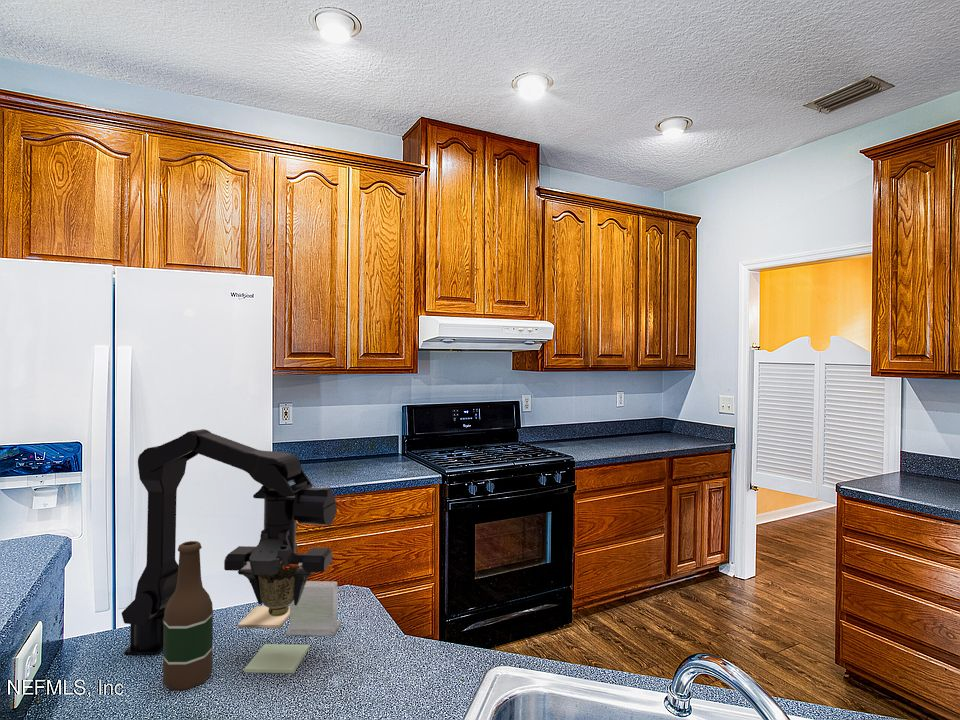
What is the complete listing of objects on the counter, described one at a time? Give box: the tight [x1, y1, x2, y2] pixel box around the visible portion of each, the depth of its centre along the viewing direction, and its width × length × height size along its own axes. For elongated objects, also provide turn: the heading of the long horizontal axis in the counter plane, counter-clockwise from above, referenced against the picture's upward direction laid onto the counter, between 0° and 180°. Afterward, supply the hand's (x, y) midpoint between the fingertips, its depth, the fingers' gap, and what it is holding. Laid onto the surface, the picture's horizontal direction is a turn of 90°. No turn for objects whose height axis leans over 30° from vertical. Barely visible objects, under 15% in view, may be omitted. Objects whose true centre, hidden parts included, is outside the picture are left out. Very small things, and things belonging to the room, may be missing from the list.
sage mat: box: [243, 643, 311, 674], centre depth 104 cm, size 9×9×1 cm
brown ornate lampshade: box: [258, 565, 299, 616], centre depth 104 cm, size 8×7×8 cm
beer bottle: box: [162, 540, 214, 691], centre depth 98 cm, size 8×8×24 cm
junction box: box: [285, 580, 342, 637], centre depth 116 cm, size 10×5×10 cm, turn 89°
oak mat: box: [237, 605, 290, 629], centre depth 121 cm, size 9×9×1 cm
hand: (278, 604), depth 104 cm, fingers closed on brown ornate lampshade, 6 cm apart
